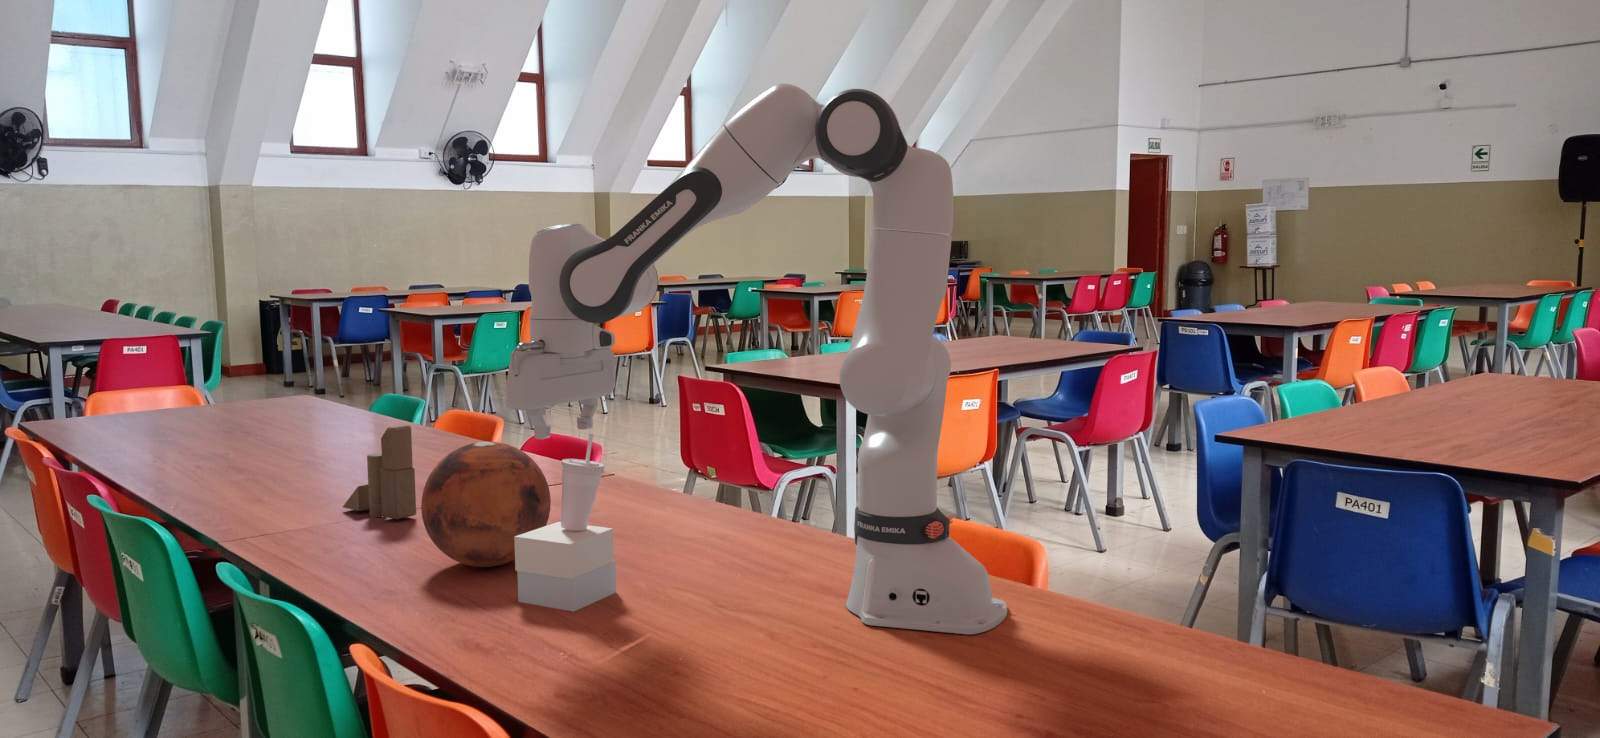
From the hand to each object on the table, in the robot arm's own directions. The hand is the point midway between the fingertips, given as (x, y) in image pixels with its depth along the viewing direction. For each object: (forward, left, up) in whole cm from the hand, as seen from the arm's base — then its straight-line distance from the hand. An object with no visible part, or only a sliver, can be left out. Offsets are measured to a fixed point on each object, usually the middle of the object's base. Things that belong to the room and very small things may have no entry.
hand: (564, 433), depth 164 cm
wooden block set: (+64, -23, -24) cm, 73 cm away
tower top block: (0, +1, -19) cm, 19 cm away
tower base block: (0, +1, -24) cm, 24 cm away
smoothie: (-1, -1, -14) cm, 14 cm away
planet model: (+22, -7, -24) cm, 34 cm away
